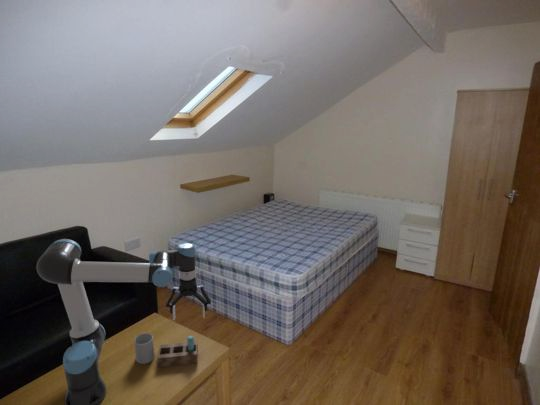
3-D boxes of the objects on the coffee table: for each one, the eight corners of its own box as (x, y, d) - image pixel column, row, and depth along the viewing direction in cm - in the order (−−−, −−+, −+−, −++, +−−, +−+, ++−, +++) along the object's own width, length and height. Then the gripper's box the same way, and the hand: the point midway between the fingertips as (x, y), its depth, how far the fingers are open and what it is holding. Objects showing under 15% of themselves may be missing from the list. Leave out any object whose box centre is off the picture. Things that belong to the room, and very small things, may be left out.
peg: (187, 359, 163) (186, 340, 160) (188, 354, 166) (187, 335, 162) (194, 358, 163) (193, 339, 160) (194, 354, 166) (193, 335, 163)
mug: (154, 362, 160) (152, 343, 157) (135, 365, 158) (133, 345, 155) (155, 345, 171) (154, 327, 168) (137, 348, 169) (135, 329, 166)
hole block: (158, 367, 157) (157, 358, 156) (160, 353, 166) (159, 345, 164) (197, 362, 161) (197, 354, 159) (197, 349, 169) (197, 341, 168)
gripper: (157, 282, 147) (160, 324, 152) (215, 279, 151) (216, 320, 157) (160, 274, 154) (162, 315, 159) (215, 271, 158) (215, 310, 164)
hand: (189, 317), depth 158 cm, fingers open, 13 cm apart
